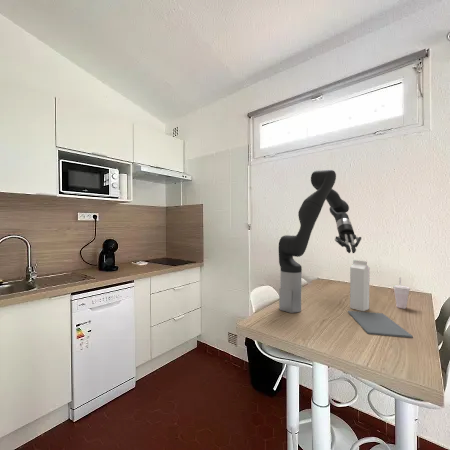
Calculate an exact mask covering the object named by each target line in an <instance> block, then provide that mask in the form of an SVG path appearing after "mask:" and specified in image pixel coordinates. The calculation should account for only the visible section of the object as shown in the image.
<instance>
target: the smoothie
mask: <svg viewBox="0 0 450 450" xmlns="http://www.w3.org/2000/svg"><path fill="white" fill-rule="evenodd" d="M398 279H399V281H398V282H399V284H395V285H393V286H392V287H393V289H394V297H395V305H396V308H398V309H404V310H405V309H407V306H408V299H409V292H410V291H411V287H409V286H407V285H402V277H401V276H400V277H399V278H398Z"/></svg>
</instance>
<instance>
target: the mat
mask: <svg viewBox="0 0 450 450" xmlns="http://www.w3.org/2000/svg"><path fill="white" fill-rule="evenodd" d="M347 313H348V314H349V316H350V317H352V318H353V319H354V321H355V322H356V323H357V324H358V325H359V326H360V328H362V330H363V331H364V332H365V333H366V334H367V335H373V336H376V335H377V336H384V337H385V336H386V337H387V336H389V337H396V338H397V337H399V338H409V339H410V338H411V339H412V338H414V337H413V335H412V334H411V333H409V332H408V331H407V330H406V329H404V328H403V327H401V326H400V325H399V324H398V323H396V322H395V321H393V319H392V318H390V317H388V316H387V315H386V314H384V313H382V312H371V311H369V312H368V311H359V310H357V311H355V310H347Z"/></svg>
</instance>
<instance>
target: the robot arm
mask: <svg viewBox="0 0 450 450" xmlns="http://www.w3.org/2000/svg"><path fill="white" fill-rule="evenodd" d="M336 180H337V173H336V171H335V170H334V169H317V170H314V171H313V172H312V173H311V175H310V183H311V185H312V187H313V188H314V189H315V190H316V191H314V192H313V193H311V194H310V195H308V196H307V197H306V198H305V199H304V200H303V202H302V203H301V205H300V207H299V209H298V215H297V216H298V221H299V224H300V225H299V229H298V232H297V234H296V235H288V234H286V235H285V234H284V235H283V236H281V237H280V239H279V241H278V265H279V267H280V273H279V274H280V276H279V277H280V282H279V284H280V285H279V287H280V288H279V290H278V291H279V295H278V296H279V299H278V305H279V306H278V307H279V308H278V309H279V310H280V311H283V312H287V313H289V314H294V313H300V312H301V311H302V272H303V269H302V268H303V267H302V265H301V264H300V263H298V262H296V260H295V259H294V257H297V258H299V257H301V256H303V255H304V254H305V252H306V250H307V247H308V244H309V241H310V238H311V235H312V232H313V230H314V227H315V224H316V222H317V220H318V218H319V217H320V216H319V215H320V214H321V211H322V208H323V206H324V205H325V201H326V202H327V203H328V204H329V213H330V214H331V215H332V216H333V217H334V220H335V223H336V230H337V233H338V235H337V236H335V238H334V241H335V242H336V243H337V244H338V245H340V246H341V247H342V248H344V247H345V250H346V252H347V253H348V254H351V252H352V254H355V253H356V252H357V249H356V248H358V246H359V244H360V242H361V240H362V237H361V236H359V237H358V236H357V235H356V234H355V231H354V227H353V226H352V222H351V221H350V217H349V215H348V212H349V210H350V206H349V204H348V203H347V201H345V200H344V199H342V197H341V196H340V194H339V193H338V192H337V191H336V190H335V189H333V187H334V185H335V183H336ZM355 241H356V242H355Z"/></svg>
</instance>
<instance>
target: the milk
mask: <svg viewBox="0 0 450 450" xmlns="http://www.w3.org/2000/svg"><path fill="white" fill-rule="evenodd" d="M370 269H371V268H370V267H369V265H368V261H365V260H358V259H357V260H356V259H354V260H353V262H352V264H351V265H350V268H349V272H350V275H349V279H350V281H349V308H350V309H353V310H357V311H359V312H367V311H368V310H370V274H371V272H370Z"/></svg>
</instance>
